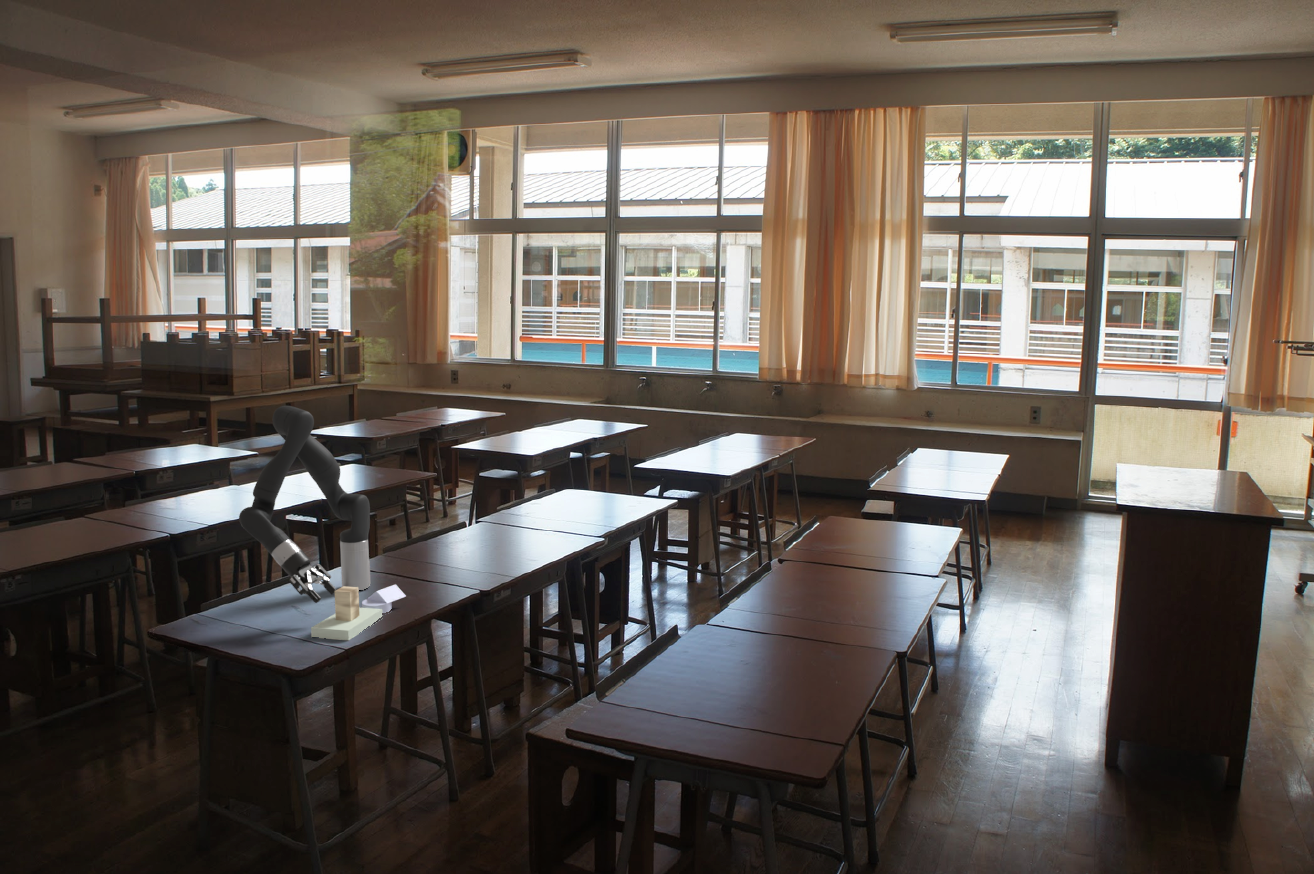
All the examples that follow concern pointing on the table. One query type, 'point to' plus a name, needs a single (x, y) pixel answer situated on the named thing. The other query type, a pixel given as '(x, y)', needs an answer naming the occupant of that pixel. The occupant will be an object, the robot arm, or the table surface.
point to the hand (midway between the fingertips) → (326, 596)
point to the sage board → (346, 625)
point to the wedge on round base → (383, 598)
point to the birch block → (347, 603)
